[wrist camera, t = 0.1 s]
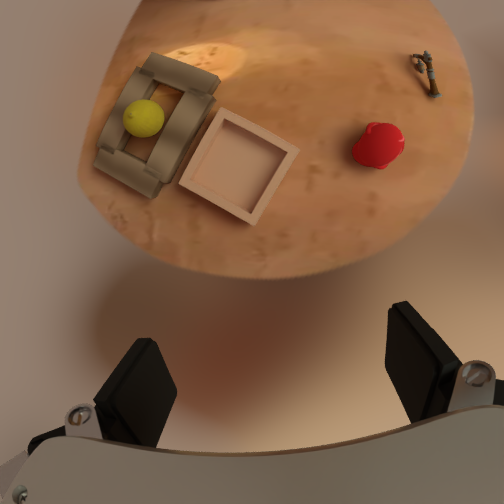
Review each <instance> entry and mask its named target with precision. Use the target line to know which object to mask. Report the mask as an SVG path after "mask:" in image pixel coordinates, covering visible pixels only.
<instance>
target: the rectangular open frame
mask: <svg viewBox="0 0 504 504" xmlns="http://www.w3.org/2000/svg"><path fill="white" fill-rule="evenodd" d="M220 82H221V81H220V79H219V77H218V76H217V75H214V74H212V73H209V72H207V71H204V70H202V69H199V68H197V67H194V66H191V65H189V64H186V63H183V62H180V61H178V60H175V59H172V58H169V57H166V56H163V55H160V54H156V53H153V52H151V54H150V56H149V57H148V59H147V60H146V62H145V63H144V65H143V66H142V68H140V67H136V69H135V70H134V72H133V74H132V75H131V77H130V79H129V80H128V82H127V84H126V86H125V87H124V89H123V91H122V93H121V95H120V96H119V98H118V100H117V102H116V104H115V106H114V108H113V110H112V112H111V114H110V116H109V118H108V120H107V122H106V124H105V126H104V128H103V131H102V133H101V135H100V137H99V140H98V142H97V144H96V146H97V147H99V148H100V149H99V152H98V154H97V156H96V159H95V161H94V164H93V166H95V167H96V168H98V169H100V170H102V171H103V172H105V173H107V174H109V175H110V176H112V177H114V178H115V179H117V180H119V181H121V182H122V183H124V184H126V185H128V186H129V187H131V188H133V189H135V190H136V191H138V192H140V193H141V194H143V195H145V196H147V197H148V198H150V199H151V198H155V197H157V196H158V194H159V192H160V190H161V188H162V186H163V183H171V181H172V179H173V177H174V175H175V173H176V171H177V169H178V167H179V165H180V163H181V161H182V160H183V158H184V156H185V154H186V152H187V150H188V148H189V146H190V145H191V143H192V141H193V139H194V137H195V136H196V134H197V132H198V130H199V129H200V127H201V125H202V123H203V122H204V120H205V118H206V117H207V115H208V113H209V112H210V110H211V108H212V107H213V105H214V103H215V102H216V99H215V98H214V97H213V96H212V95H213V93H214V91H215V90H216V88H217V87H218V85H219V84H220ZM159 83H160V84H163V85H165V86H168V87H170V88H173V89H175V90H178V91H180V92H182V93H184V95H183V96H182V98H181V100H180V101H179V103H178V105H177V106H176V108H175V110H174V112H173V113H172V115H171V117H170V119H169V120H168V122H167V124H166V126H165V128H164V130H163V132H162V133H161V135H160V137H159V139H158V141H157V143H156V145H155V147H154V149H153V151H152V153H151V155H150V157H149V159H148V161H147V162H146V161H144V160H142V159H140V158H138V157H136V156H134V155H132V154H131V153H129V152H127V151H125V150H124V148H125V146H126V144H127V142H128V140H129V138H130V136H131V133H129V132H128V131H127V130H126V128H125V127H124V124H123V114H124V111H125V110H126V108H127V107H128V106H129V105H130V104H131V103H133V102H135V101H137V100H142V99H145V100H149V99H150V98H151V96H152V94H153V93H154V91H155V89H156V87H157V86H158V84H159Z"/></svg>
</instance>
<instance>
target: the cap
mask: <svg viewBox="0 0 504 504" xmlns="http://www.w3.org/2000/svg"><path fill="white" fill-rule="evenodd" d="M404 140H405V139H404V136H403V135H402V133H401V131H400V130H399V129H398V128H397V127H396V126H394V125H392V124H389V123H375V122H372V123H369V124H368V126H367V128H366V132H365V133H364V134H363V135H362V137H361V138H360V141H359V142H357V143H356V144H355V145H354V146H353V149H352V154H353V157H354V159H355V160H356V161H357V162H358V163H360V164H361V165H364V166H369V167H374V168H377V169H384V168H386V167H387V165H388V164H389V163H391V162H392V161H393V160H394V159H395V158H396V157H397V156H398V155H399V154H401V153H402V151H403V149H404Z"/></svg>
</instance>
